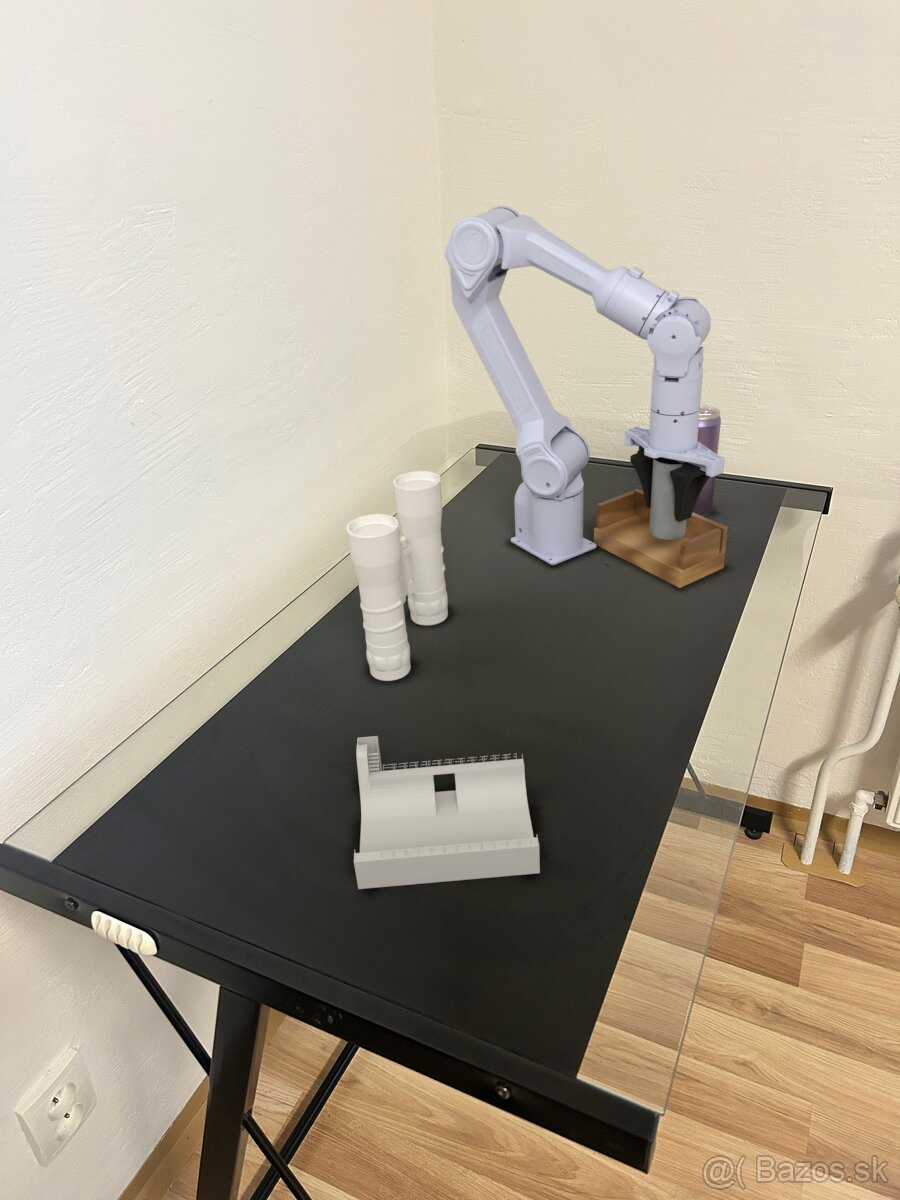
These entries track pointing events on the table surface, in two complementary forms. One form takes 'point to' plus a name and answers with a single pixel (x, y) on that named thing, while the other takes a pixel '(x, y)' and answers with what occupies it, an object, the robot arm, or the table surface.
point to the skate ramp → (442, 822)
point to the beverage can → (710, 439)
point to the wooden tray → (659, 541)
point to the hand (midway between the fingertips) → (668, 512)
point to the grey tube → (664, 501)
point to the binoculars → (400, 571)
